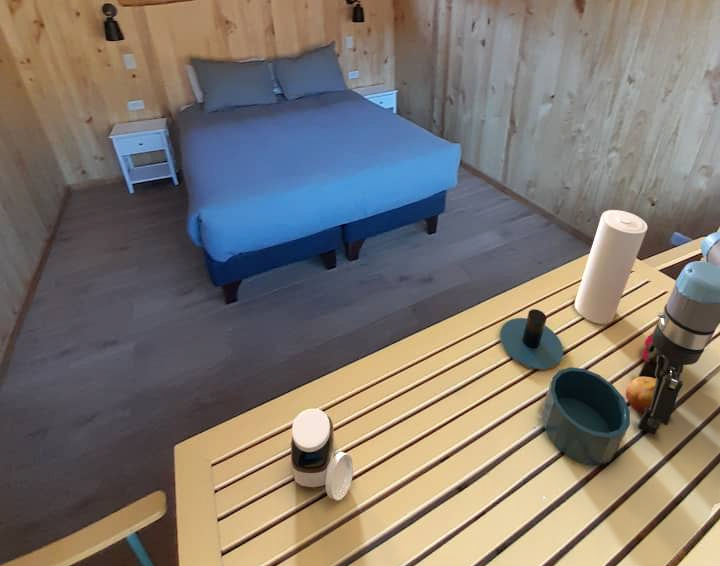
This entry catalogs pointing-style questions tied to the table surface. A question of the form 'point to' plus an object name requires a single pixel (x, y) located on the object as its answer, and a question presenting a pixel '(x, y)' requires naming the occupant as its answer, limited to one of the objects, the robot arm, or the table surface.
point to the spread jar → (319, 455)
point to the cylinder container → (609, 265)
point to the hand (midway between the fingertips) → (644, 405)
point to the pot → (585, 416)
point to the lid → (531, 341)
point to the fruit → (640, 393)
